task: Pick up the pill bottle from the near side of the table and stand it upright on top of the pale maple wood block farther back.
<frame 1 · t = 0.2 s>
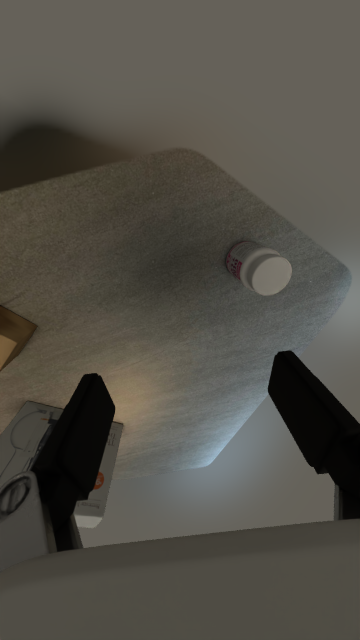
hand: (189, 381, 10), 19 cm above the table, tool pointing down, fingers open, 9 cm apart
pill bottle: (241, 259, 25), on the table
skincare box: (76, 417, 41), on the table
block: (1, 327, 29), on the table
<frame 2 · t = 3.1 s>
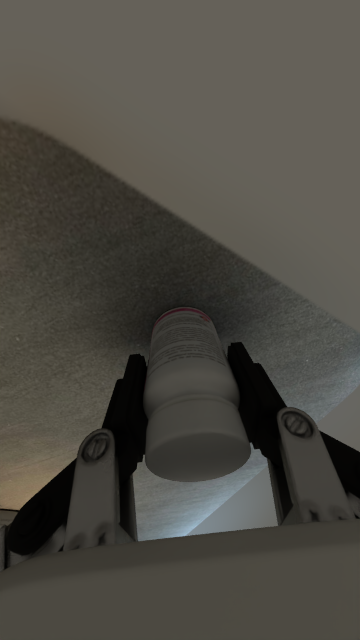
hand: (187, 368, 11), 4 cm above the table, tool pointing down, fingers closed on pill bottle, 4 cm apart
pill bottle: (183, 331, 14), on the table, touching gripper
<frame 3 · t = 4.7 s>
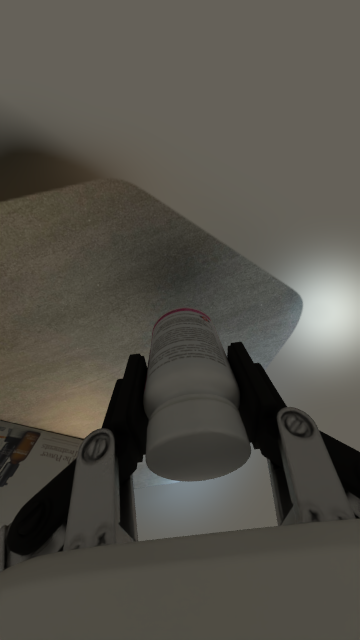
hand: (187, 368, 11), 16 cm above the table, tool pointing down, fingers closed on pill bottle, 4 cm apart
pill bottle: (183, 331, 14), point 12 cm above the table, touching gripper
skincare box: (39, 433, 41), on the table
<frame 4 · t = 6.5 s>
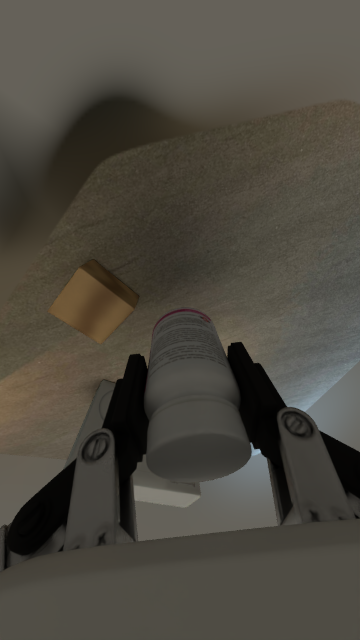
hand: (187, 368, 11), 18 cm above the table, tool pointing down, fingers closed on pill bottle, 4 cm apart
pill bottle: (183, 331, 14), point 14 cm above the table, touching gripper
skincare box: (145, 399, 40), on the table
block: (102, 297, 28), on the table
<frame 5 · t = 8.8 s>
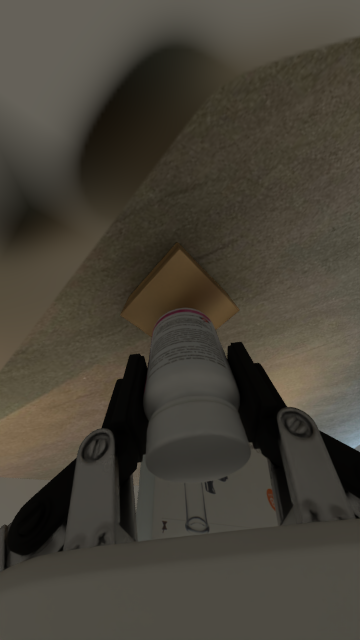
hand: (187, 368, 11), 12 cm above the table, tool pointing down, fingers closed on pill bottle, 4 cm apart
pill bottle: (183, 332, 14), point 8 cm above the table, touching gripper
skincare box: (203, 417, 33), on the table
block: (178, 294, 21), on the table
when the fingers open (8 cm above the table, at t = 10.1 s): pill bottle stays where it is, resting on block.
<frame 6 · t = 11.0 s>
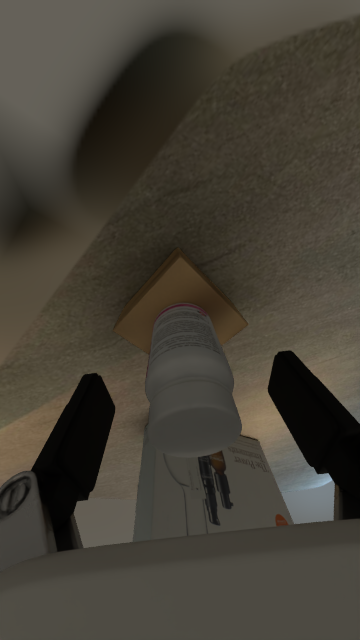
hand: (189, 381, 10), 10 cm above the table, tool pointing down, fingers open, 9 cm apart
pill bottle: (182, 326, 15), point 4 cm above the table, touching block
skincare box: (205, 432, 31), on the table
block: (178, 304, 19), on the table
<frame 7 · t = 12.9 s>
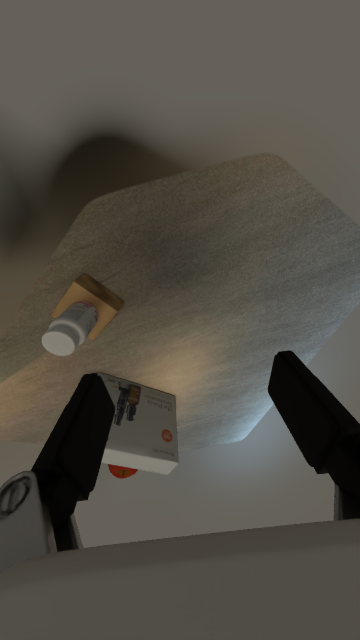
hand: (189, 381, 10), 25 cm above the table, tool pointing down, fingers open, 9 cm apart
pill bottle: (85, 313, 30), point 4 cm above the table, touching block
skincare box: (136, 388, 47), on the table
apple: (129, 434, 57), on the table
block: (94, 302, 34), on the table
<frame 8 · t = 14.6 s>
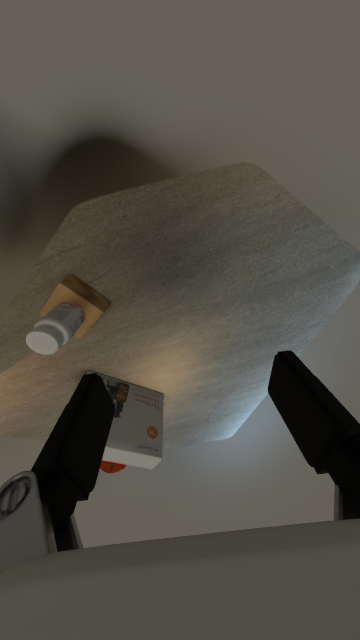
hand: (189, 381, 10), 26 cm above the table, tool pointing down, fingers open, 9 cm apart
pill bottle: (71, 313, 31), point 4 cm above the table, touching block
skincare box: (125, 386, 48), on the table
apple: (119, 430, 58), on the table
block: (81, 303, 35), on the table
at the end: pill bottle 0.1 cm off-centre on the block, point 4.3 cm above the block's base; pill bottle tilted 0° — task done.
